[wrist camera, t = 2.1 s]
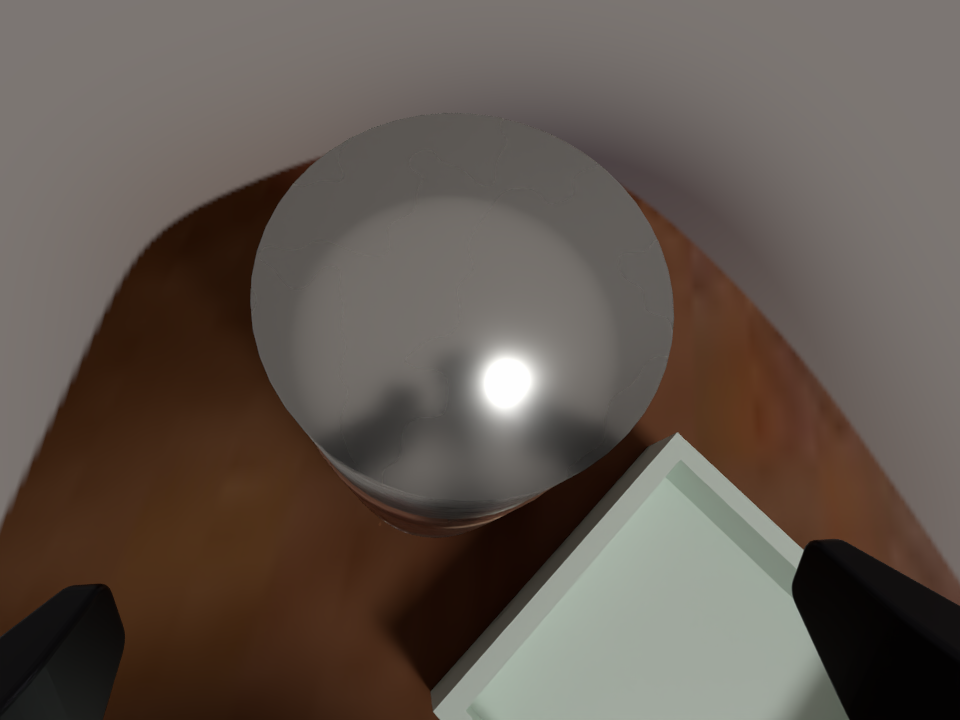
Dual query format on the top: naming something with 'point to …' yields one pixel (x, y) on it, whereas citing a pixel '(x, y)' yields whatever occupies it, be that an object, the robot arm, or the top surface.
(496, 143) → the tin
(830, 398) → the top surface
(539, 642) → the pale green square tray
